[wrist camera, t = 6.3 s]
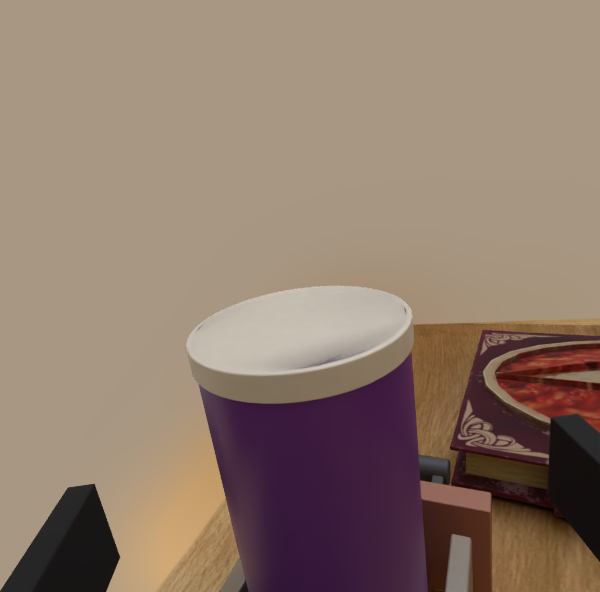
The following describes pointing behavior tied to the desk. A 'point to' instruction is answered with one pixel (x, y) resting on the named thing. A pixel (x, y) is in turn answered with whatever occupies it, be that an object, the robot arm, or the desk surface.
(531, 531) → the desk surface
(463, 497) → the drawer
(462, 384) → the desk surface
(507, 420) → the book
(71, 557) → the robot arm
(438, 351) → the desk surface
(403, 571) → the tube
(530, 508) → the desk surface
